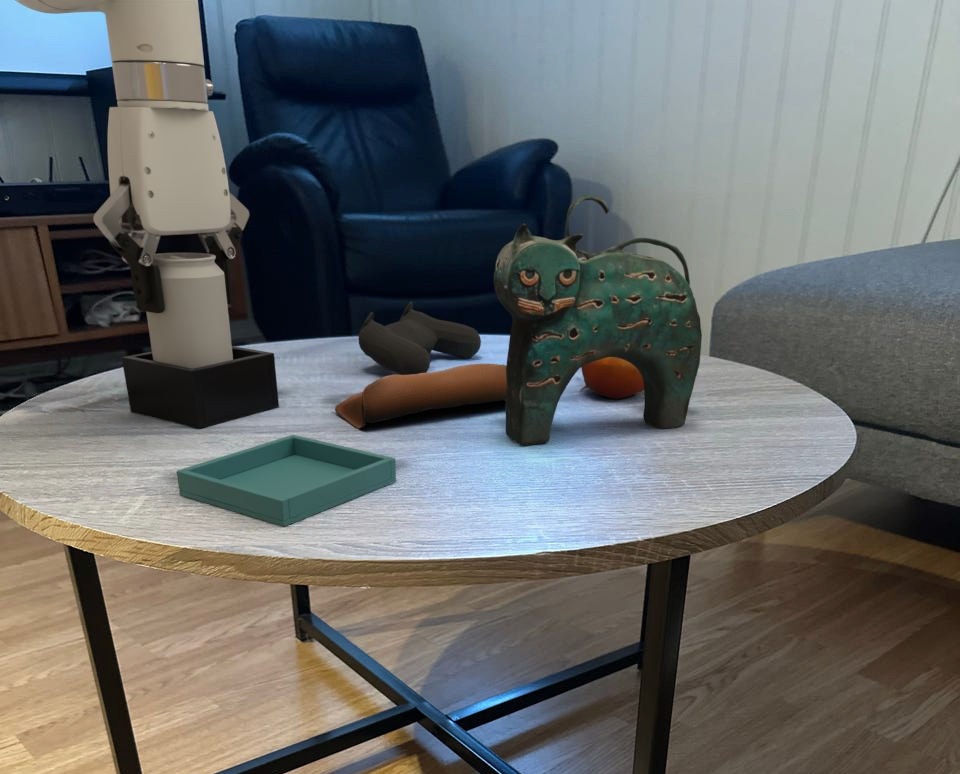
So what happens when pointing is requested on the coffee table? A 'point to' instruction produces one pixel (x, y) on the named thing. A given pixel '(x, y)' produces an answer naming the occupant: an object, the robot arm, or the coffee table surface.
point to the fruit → (612, 378)
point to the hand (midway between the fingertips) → (187, 305)
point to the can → (191, 312)
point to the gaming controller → (415, 341)
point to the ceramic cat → (593, 325)
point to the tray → (286, 478)
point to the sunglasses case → (424, 393)
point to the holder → (202, 388)
